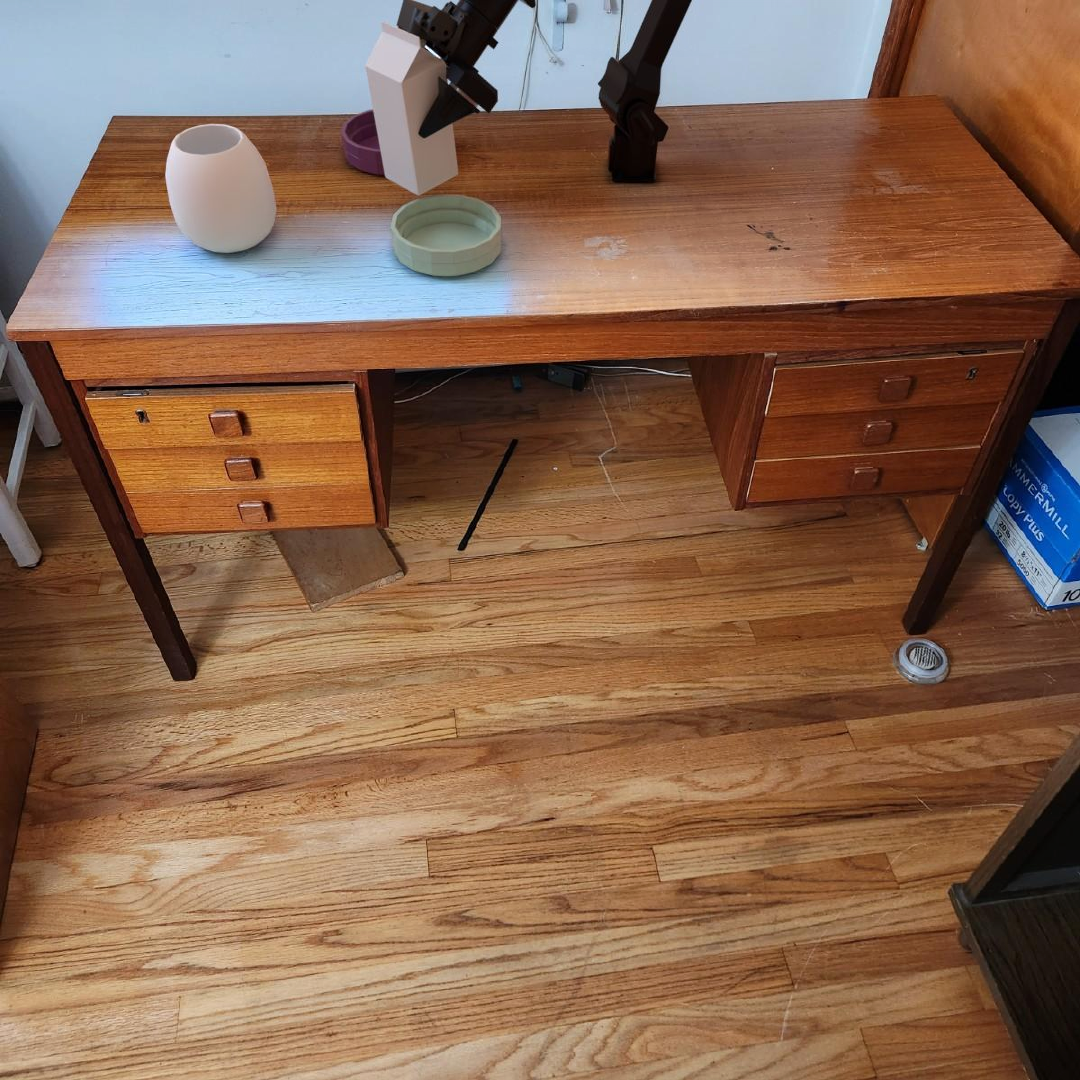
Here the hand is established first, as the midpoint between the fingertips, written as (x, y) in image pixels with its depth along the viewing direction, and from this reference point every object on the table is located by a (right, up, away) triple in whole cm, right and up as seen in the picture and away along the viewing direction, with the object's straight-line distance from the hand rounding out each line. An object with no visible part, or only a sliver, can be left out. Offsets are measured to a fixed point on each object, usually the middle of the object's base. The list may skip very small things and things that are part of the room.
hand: (406, 123), depth 123 cm
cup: (-24, -13, +6) cm, 28 cm away
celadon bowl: (+5, -15, +5) cm, 16 cm away
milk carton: (+1, -5, +6) cm, 8 cm away
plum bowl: (-5, +5, +22) cm, 23 cm away
